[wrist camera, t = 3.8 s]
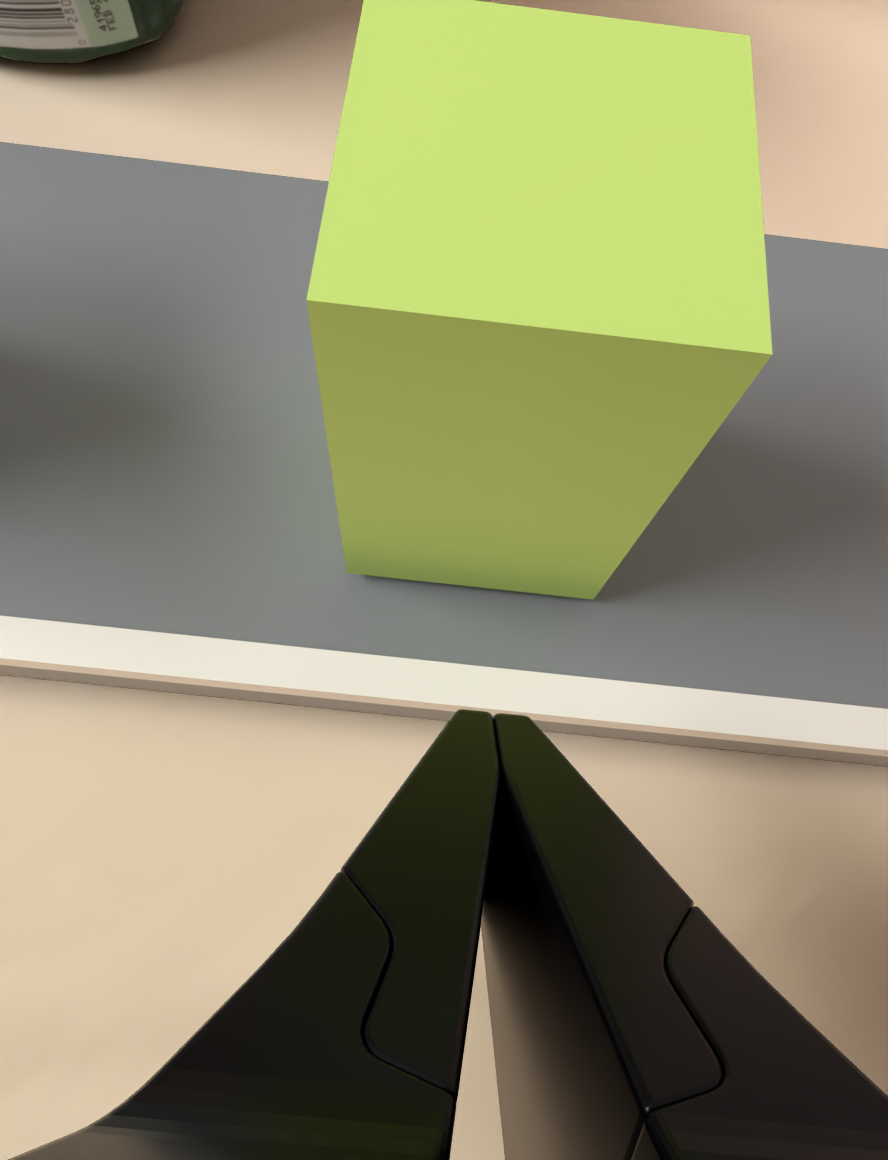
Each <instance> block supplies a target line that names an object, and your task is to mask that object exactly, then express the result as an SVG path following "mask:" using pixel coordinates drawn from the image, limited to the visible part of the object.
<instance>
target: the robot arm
mask: <svg viewBox="0 0 888 1160" xmlns="http://www.w3.org/2000/svg"><path fill="white" fill-rule="evenodd" d="M693 905H694V904H693V901H692V900H691V898H690V897H689V896H688V895H687V894H686V893H685V892H684V891H683V889H682V888H681V887H680V886H679V885H678V884H677V883H676V882H675V880H674V879H673V878H672V877H671V876H670V875H669V874H668V873H667V871H666V870H665V869H664V868H663V867H662V866H661V865H660V864H659V862H658V861H657V860H656V859H655V858H654V857H653V856H652V855H651V853H650V852H649V851H648V850H647V849H646V848H645V847H644V846H643V844H642V843H641V842H640V841H639V840H638V839H637V838H636V837H635V835H634V834H633V833H632V832H631V831H630V830H629V829H628V828H627V826H626V825H625V824H624V823H623V822H622V821H621V820H620V819H619V817H618V816H617V815H616V814H615V813H614V812H613V811H612V810H611V808H610V807H609V806H608V805H607V804H606V803H605V802H604V801H603V799H602V798H601V797H600V796H599V795H598V794H597V793H596V792H595V790H594V789H593V788H592V787H591V786H590V785H589V784H588V783H587V781H586V780H585V779H584V778H583V777H582V776H581V775H580V774H579V772H578V771H577V770H576V769H575V768H574V767H573V766H572V765H571V763H570V762H569V761H568V760H567V759H566V758H565V757H564V756H563V754H562V753H561V752H560V751H559V750H558V749H557V748H556V747H555V745H554V744H553V743H552V742H551V741H550V740H549V739H548V738H547V736H546V735H545V734H544V733H543V732H542V731H541V730H540V729H539V727H538V726H537V725H536V724H535V723H534V722H533V721H532V720H531V719H530V718H529V717H527V716H524V715H514V714H504V713H497V714H495V715H494V717H492V715H491V714H490V713H489V712H485V711H475V710H465V709H460V710H458V711H456V712H455V714H454V715H453V716H452V718H451V719H450V720H449V722H448V723H447V724H446V726H445V727H444V729H443V730H442V731H441V733H440V734H439V735H438V737H437V738H436V740H435V741H434V742H433V744H432V745H431V746H430V748H429V749H428V750H427V752H426V753H425V755H424V756H423V757H422V759H421V760H420V761H419V763H418V764H417V765H416V767H415V768H414V770H413V771H412V772H411V774H410V775H409V776H408V778H407V779H406V781H405V782H404V783H403V785H402V786H401V787H400V789H399V790H398V791H397V793H396V794H395V796H394V797H393V798H392V800H391V801H390V802H389V804H388V805H387V807H386V808H385V809H384V811H383V812H382V813H381V815H380V816H379V817H378V819H377V820H376V822H375V823H374V824H373V826H372V827H371V828H370V830H369V831H368V832H367V834H366V835H365V837H364V838H363V839H362V841H361V842H360V843H359V845H358V846H357V848H356V849H355V850H354V852H353V853H352V854H351V856H350V857H349V858H348V860H347V861H346V863H345V864H344V865H343V867H342V868H341V872H339V873H337V874H336V876H335V877H334V878H333V880H332V881H331V882H330V884H329V885H328V887H327V888H326V889H325V891H324V892H323V893H322V895H321V896H320V897H319V899H318V900H317V901H316V902H315V904H314V905H313V906H312V908H311V909H310V910H309V911H308V913H307V914H306V915H305V916H304V918H303V919H302V920H301V921H300V923H299V924H298V925H297V926H296V928H295V929H294V930H293V931H292V933H291V934H290V935H289V936H288V937H287V938H286V939H285V940H284V941H283V942H282V943H281V944H280V946H279V947H278V948H277V949H276V950H275V951H274V952H273V953H272V954H271V955H270V956H269V957H268V959H267V960H266V961H265V962H264V963H263V964H262V965H261V966H260V967H259V968H258V969H257V970H256V972H255V973H254V974H253V975H252V976H251V977H250V978H249V979H248V980H247V981H246V982H245V983H244V984H243V985H242V986H241V987H240V988H239V989H238V990H237V991H236V992H235V993H234V994H233V995H232V996H231V997H230V998H229V999H228V1000H227V1001H226V1002H225V1003H224V1004H223V1005H222V1006H221V1007H220V1008H219V1009H218V1010H217V1011H216V1012H215V1013H214V1014H213V1015H212V1016H211V1017H210V1019H209V1020H208V1021H207V1022H206V1023H205V1024H204V1025H203V1026H202V1027H201V1028H200V1029H199V1030H198V1031H197V1032H196V1033H195V1034H194V1035H193V1036H192V1037H191V1038H190V1039H189V1040H188V1041H187V1042H186V1043H185V1044H184V1045H183V1046H182V1047H181V1048H180V1049H179V1050H178V1051H177V1052H176V1053H175V1054H174V1055H173V1056H172V1057H171V1058H170V1059H169V1060H168V1061H167V1062H166V1063H165V1065H164V1066H163V1067H162V1068H161V1069H160V1070H159V1071H158V1072H157V1073H155V1074H154V1075H153V1076H152V1077H151V1078H150V1079H149V1080H148V1081H147V1082H146V1083H145V1084H144V1085H143V1086H142V1087H141V1088H140V1089H139V1090H137V1091H136V1092H135V1093H134V1094H133V1095H132V1096H130V1097H129V1098H128V1099H127V1100H126V1101H124V1102H123V1103H122V1104H120V1105H119V1106H118V1107H116V1108H115V1109H113V1110H112V1111H111V1112H109V1113H108V1114H106V1115H105V1116H104V1117H102V1118H100V1119H99V1120H97V1121H95V1122H94V1123H92V1124H90V1125H89V1126H87V1127H85V1128H83V1129H81V1130H79V1131H76V1132H74V1133H72V1134H69V1135H67V1136H65V1137H62V1138H60V1139H57V1140H55V1141H52V1142H50V1143H47V1144H45V1145H43V1146H40V1147H38V1148H35V1149H33V1150H30V1151H28V1152H25V1153H23V1154H21V1155H18V1156H16V1157H13V1158H11V1159H8V1160H449V1159H450V1151H451V1143H452V1135H453V1127H454V1120H455V1112H456V1102H457V1097H458V1090H459V1082H460V1075H461V1068H462V1060H463V1053H464V1045H465V1038H466V1031H467V1023H468V1016H469V1008H470V1001H471V994H472V986H473V979H474V972H475V964H476V957H477V949H478V942H479V935H480V927H481V929H482V939H483V949H484V958H485V968H486V978H487V987H488V997H489V1007H490V1017H491V1026H492V1036H493V1046H494V1056H495V1065H496V1075H497V1085H498V1094H499V1104H500V1114H501V1124H502V1133H503V1143H504V1153H505V1160H888V1096H887V1095H886V1094H885V1093H884V1092H883V1091H882V1090H881V1089H880V1088H879V1087H878V1086H876V1085H875V1084H874V1083H873V1082H872V1081H871V1080H870V1079H869V1078H868V1077H867V1076H866V1075H865V1074H864V1073H863V1072H862V1071H861V1070H859V1069H858V1068H857V1067H856V1066H855V1065H854V1064H853V1063H852V1062H851V1061H850V1060H849V1059H848V1058H847V1057H846V1056H845V1055H844V1054H842V1053H841V1052H840V1051H839V1050H838V1049H837V1048H836V1047H835V1046H834V1045H833V1044H832V1043H831V1042H830V1041H829V1040H828V1039H827V1038H826V1037H824V1036H823V1035H822V1034H821V1033H820V1032H819V1031H818V1030H817V1029H816V1028H815V1027H814V1026H813V1025H812V1024H811V1023H810V1022H809V1021H807V1020H806V1019H805V1018H804V1017H803V1016H802V1015H801V1014H800V1013H799V1012H798V1011H797V1010H796V1009H795V1008H794V1007H793V1006H792V1005H791V1004H790V1003H789V1002H788V1001H787V1000H786V999H785V998H784V997H783V996H782V995H781V994H780V993H779V992H778V991H777V990H776V989H775V988H774V987H773V986H772V985H771V984H770V983H769V982H768V981H767V980H766V979H765V978H764V977H763V976H762V975H761V974H760V973H759V972H758V971H757V970H756V969H755V968H754V967H753V966H752V965H751V964H750V963H749V962H748V961H747V960H746V958H745V957H744V956H743V955H742V954H741V953H740V952H739V951H738V950H737V949H736V948H735V947H734V946H733V945H732V944H731V942H730V941H729V940H728V939H727V938H726V937H725V936H724V935H723V934H722V933H721V932H720V931H719V929H718V928H717V927H716V926H715V925H714V924H713V923H712V922H711V920H710V919H709V918H708V917H707V916H706V915H705V914H704V913H703V911H702V910H701V909H700V908H699V907H696V906H695V907H693Z"/></svg>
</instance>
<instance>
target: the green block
mask: <svg viewBox="0 0 888 1160" xmlns="http://www.w3.org/2000/svg"><path fill="white" fill-rule="evenodd" d="M306 301H307V308H308V314H309V321H310V328H311V335H312V342H313V348H314V355H315V362H316V369H317V375H318V382H319V389H320V396H321V402H322V409H323V416H324V423H325V430H326V436H327V443H328V450H329V457H330V463H331V470H332V477H333V484H334V490H335V497H336V504H337V511H338V517H339V524H340V531H341V538H342V545H343V551H344V558H345V565H346V572H347V573H351V574H360V575H369V576H379V577H388V578H397V579H406V580H416V581H425V582H434V583H444V584H453V585H462V586H471V587H481V588H490V589H499V590H508V591H518V592H527V593H536V594H546V595H555V596H564V597H573V598H583V599H592V600H593V599H594V598H595V597H596V595H597V594H598V593H599V591H600V590H601V588H602V587H603V586H604V584H605V583H606V582H607V580H608V579H609V578H610V576H611V575H612V573H613V572H614V571H615V569H616V568H617V567H618V565H619V564H620V562H621V561H622V560H623V558H624V557H625V556H626V554H627V553H628V552H629V550H630V549H631V547H632V546H633V545H634V543H635V542H636V541H637V539H638V538H639V536H640V535H641V534H642V532H643V531H644V530H645V528H646V527H647V525H648V524H649V523H650V521H651V520H652V519H653V517H654V516H655V515H656V513H657V512H658V510H659V509H660V508H661V506H662V505H663V504H664V502H665V501H666V499H667V498H668V497H669V495H670V494H671V493H672V491H673V490H674V489H675V487H676V486H677V484H678V483H679V482H680V480H681V479H682V478H683V476H684V475H685V473H686V472H687V471H688V469H689V468H690V467H691V465H692V464H693V463H694V461H695V460H696V458H697V457H698V456H699V454H700V453H701V452H702V450H703V449H704V447H705V446H706V445H707V443H708V442H709V441H710V439H711V438H712V436H713V435H714V434H715V432H716V431H717V430H718V428H719V427H720V426H721V424H722V423H723V421H724V420H725V419H726V417H727V416H728V415H729V413H730V412H731V410H732V409H733V408H734V406H735V405H736V404H737V402H738V401H739V400H740V398H741V397H742V395H743V394H744V393H745V391H746V390H747V389H748V387H749V386H750V384H751V383H752V382H753V380H754V379H755V378H756V376H757V375H758V374H759V372H760V371H761V369H762V368H763V367H764V365H765V364H766V363H767V361H768V360H769V358H770V357H771V356H772V340H771V326H770V312H769V297H768V283H767V269H766V254H765V240H764V226H763V211H762V197H761V183H760V168H759V154H758V140H757V125H756V111H755V97H754V82H753V68H752V54H751V39H750V35H743V34H735V33H727V32H719V31H711V30H704V29H696V28H688V27H680V26H672V25H664V24H656V23H649V22H641V21H633V20H625V19H617V18H609V17H602V16H594V15H586V14H578V13H570V12H562V11H554V10H547V9H539V8H531V7H523V6H515V5H507V4H499V3H492V2H484V1H476V0H364V1H363V6H362V11H361V17H360V22H359V27H358V32H357V38H356V43H355V48H354V53H353V59H352V64H351V69H350V74H349V79H348V85H347V90H346V95H345V100H344V106H343V111H342V116H341V121H340V127H339V132H338V137H337V142H336V147H335V153H334V158H333V163H332V168H331V174H330V179H329V184H328V189H327V195H326V200H325V205H324V210H323V215H322V221H321V226H320V231H319V236H318V242H317V247H316V252H315V257H314V263H313V268H312V273H311V278H310V283H309V289H308V294H307V299H306Z"/></svg>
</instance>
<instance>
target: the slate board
mask: <svg viewBox="0 0 888 1160" xmlns="http://www.w3.org/2000/svg"><path fill="white" fill-rule="evenodd" d="M328 184H329V182H328V181H320V180H311V179H303V178H295V177H286V176H278V175H270V174H262V173H253V172H245V171H237V170H228V169H220V168H212V167H204V166H195V165H187V164H179V163H171V162H162V161H154V160H146V159H137V158H129V157H121V156H113V155H104V154H96V153H88V152H79V151H71V150H63V149H55V148H46V147H38V146H30V145H21V144H13V143H5V142H0V675H8V676H17V677H27V678H37V679H47V680H56V681H66V682H76V683H85V684H95V685H105V686H114V687H124V688H134V689H143V690H153V691H163V692H172V693H182V694H192V695H201V696H211V697H221V698H230V699H240V700H250V701H259V702H269V703H279V704H288V705H298V706H308V707H318V708H327V709H337V710H347V711H356V712H366V713H376V714H385V715H395V716H405V717H414V718H424V719H434V720H443V721H449V720H450V719H451V718H452V716H453V715H454V714H455V712H456V711H458V710H460V709H465V710H475V711H485V712H489V713H490V714H491V715H492V717H494V715H495V714H497V713H504V714H514V715H524V716H527V717H529V718H530V719H531V720H532V721H533V722H534V723H535V724H536V725H537V726H538V727H539V729H540V730H541V731H550V732H559V733H569V734H579V735H589V736H598V737H608V738H618V739H627V740H637V741H647V742H656V743H666V744H676V745H685V746H695V747H705V748H714V749H724V750H734V751H743V752H753V753H763V754H772V755H782V756H792V757H801V758H811V759H821V760H831V761H840V762H850V763H860V764H869V765H879V766H888V249H883V248H874V247H866V246H858V245H850V244H841V243H833V242H825V241H816V240H808V239H800V238H792V237H783V236H775V235H767V234H764V240H765V254H766V269H767V283H768V297H769V312H770V326H771V340H772V356H771V357H770V358H769V360H768V361H767V363H766V364H765V365H764V367H763V368H762V369H761V371H760V372H759V374H758V375H757V376H756V378H755V379H754V380H753V382H752V383H751V384H750V386H749V387H748V389H747V390H746V391H745V393H744V394H743V395H742V397H741V398H740V400H739V401H738V402H737V404H736V405H735V406H734V408H733V409H732V410H731V412H730V413H729V415H728V416H727V417H726V419H725V420H724V421H723V423H722V424H721V426H720V427H719V428H718V430H717V431H716V432H715V434H714V435H713V436H712V438H711V439H710V441H709V442H708V443H707V445H706V446H705V447H704V449H703V450H702V452H701V453H700V454H699V456H698V457H697V458H696V460H695V461H694V463H693V464H692V465H691V467H690V468H689V469H688V471H687V472H686V473H685V475H684V476H683V478H682V479H681V480H680V482H679V483H678V484H677V486H676V487H675V489H674V490H673V491H672V493H671V494H670V495H669V497H668V498H667V499H666V501H665V502H664V504H663V505H662V506H661V508H660V509H659V510H658V512H657V513H656V515H655V516H654V517H653V519H652V520H651V521H650V523H649V524H648V525H647V527H646V528H645V530H644V531H643V532H642V534H641V535H640V536H639V538H638V539H637V541H636V542H635V543H634V545H633V546H632V547H631V549H630V550H629V552H628V553H627V554H626V556H625V557H624V558H623V560H622V561H621V562H620V564H619V565H618V567H617V568H616V569H615V571H614V572H613V573H612V575H611V576H610V578H609V579H608V580H607V582H606V583H605V584H604V586H603V587H602V588H601V590H600V591H599V593H598V594H597V595H596V597H595V598H594V599H593V600H592V599H583V598H573V597H564V596H555V595H546V594H536V593H527V592H518V591H508V590H499V589H490V588H481V587H471V586H462V585H453V584H444V583H434V582H425V581H416V580H406V579H397V578H388V577H379V576H369V575H360V574H351V573H347V572H346V565H345V558H344V551H343V545H342V538H341V531H340V524H339V517H338V511H337V504H336V497H335V490H334V484H333V477H332V470H331V463H330V457H329V450H328V443H327V436H326V430H325V423H324V416H323V409H322V402H321V396H320V389H319V382H318V375H317V369H316V362H315V355H314V348H313V342H312V335H311V328H310V321H309V314H308V308H307V301H306V299H307V294H308V289H309V283H310V278H311V273H312V268H313V263H314V257H315V252H316V247H317V242H318V236H319V231H320V226H321V221H322V215H323V210H324V205H325V200H326V195H327V189H328Z"/></svg>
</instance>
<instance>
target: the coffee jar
mask: <svg viewBox="0 0 888 1160" xmlns="http://www.w3.org/2000/svg"><path fill="white" fill-rule="evenodd" d="M182 1H183V0H0V56H1V57H3V58H7V59H12V60H19V61H29V62H42V63H79V62H85V61H88V60H92V59H95V58H98V57H102V56H105V55H110V54H114V53H118V52H122V51H125V50H128V49H131V48H134V47H136V46H139V45H142V44H145V43H148V42H152V41H154V40H156V39H158V38H159V37H160V36H161V35H163V34H164V33H165V32H166V31H167V29H168V28H169V27H170V25H171V24H172V23H173V21H174V19H175V17H176V15H177V13H178V11H179V8H180V6H181V4H182Z"/></svg>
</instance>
